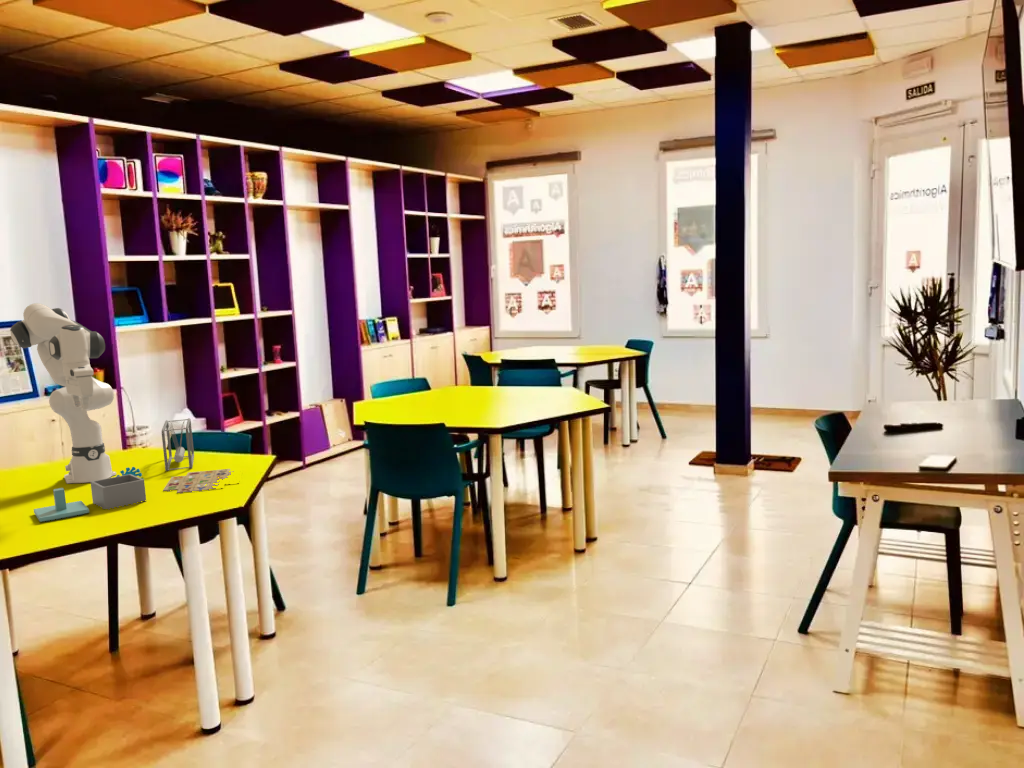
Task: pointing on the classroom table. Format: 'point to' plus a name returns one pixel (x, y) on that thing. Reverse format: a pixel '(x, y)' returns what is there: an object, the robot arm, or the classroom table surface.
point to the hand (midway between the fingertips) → (81, 407)
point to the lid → (60, 508)
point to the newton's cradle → (180, 450)
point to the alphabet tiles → (196, 481)
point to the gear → (131, 472)
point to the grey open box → (118, 491)
